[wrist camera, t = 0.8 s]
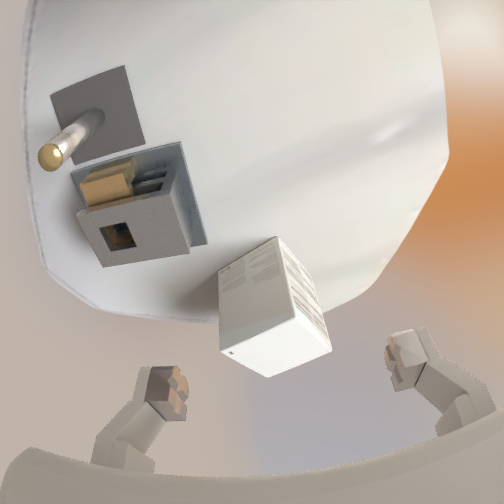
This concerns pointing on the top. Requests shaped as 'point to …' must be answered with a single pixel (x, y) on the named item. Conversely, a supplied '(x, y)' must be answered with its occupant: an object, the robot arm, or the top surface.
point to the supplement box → (270, 311)
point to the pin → (70, 139)
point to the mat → (114, 107)
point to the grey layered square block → (139, 206)
